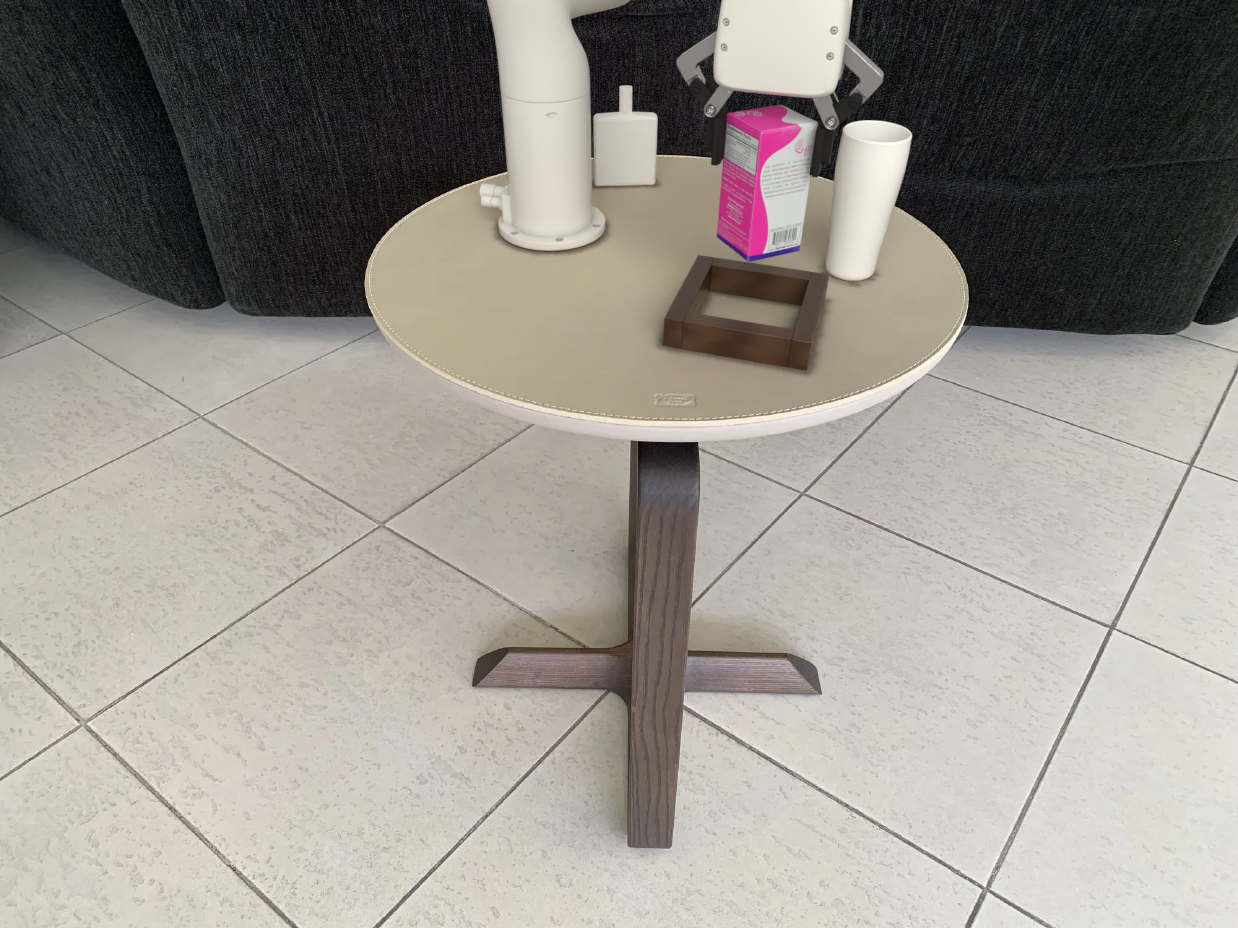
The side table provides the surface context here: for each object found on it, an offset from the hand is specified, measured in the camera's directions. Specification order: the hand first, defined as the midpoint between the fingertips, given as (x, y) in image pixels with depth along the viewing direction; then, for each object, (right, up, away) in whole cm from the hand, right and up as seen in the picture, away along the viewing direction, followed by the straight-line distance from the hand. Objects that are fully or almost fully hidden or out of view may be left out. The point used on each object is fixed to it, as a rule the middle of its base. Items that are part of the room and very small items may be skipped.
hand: (766, 165), depth 72 cm
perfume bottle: (-12, +11, +37) cm, 40 cm away
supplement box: (0, -6, +5) cm, 8 cm away
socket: (0, -12, +10) cm, 16 cm away
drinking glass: (+12, -5, +18) cm, 23 cm away
